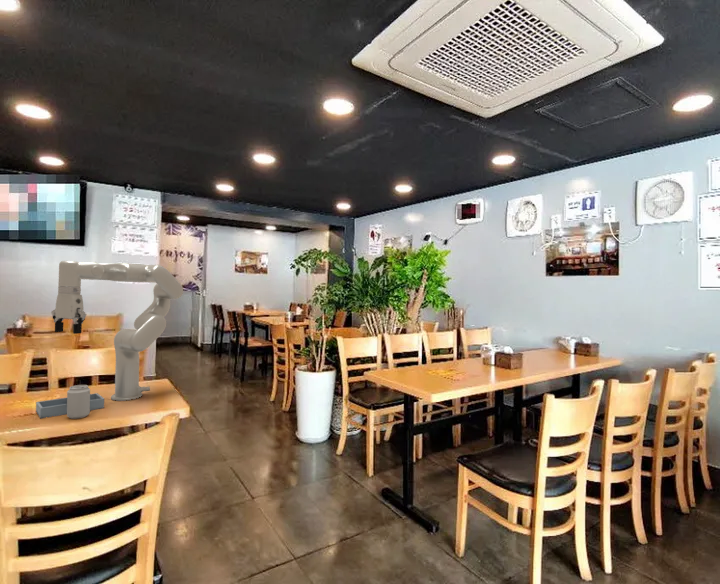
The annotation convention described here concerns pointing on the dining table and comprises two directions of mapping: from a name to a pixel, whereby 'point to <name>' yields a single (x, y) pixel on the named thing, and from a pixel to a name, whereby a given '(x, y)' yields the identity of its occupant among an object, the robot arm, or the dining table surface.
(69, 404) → the can
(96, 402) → the tray
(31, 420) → the dining table surface
